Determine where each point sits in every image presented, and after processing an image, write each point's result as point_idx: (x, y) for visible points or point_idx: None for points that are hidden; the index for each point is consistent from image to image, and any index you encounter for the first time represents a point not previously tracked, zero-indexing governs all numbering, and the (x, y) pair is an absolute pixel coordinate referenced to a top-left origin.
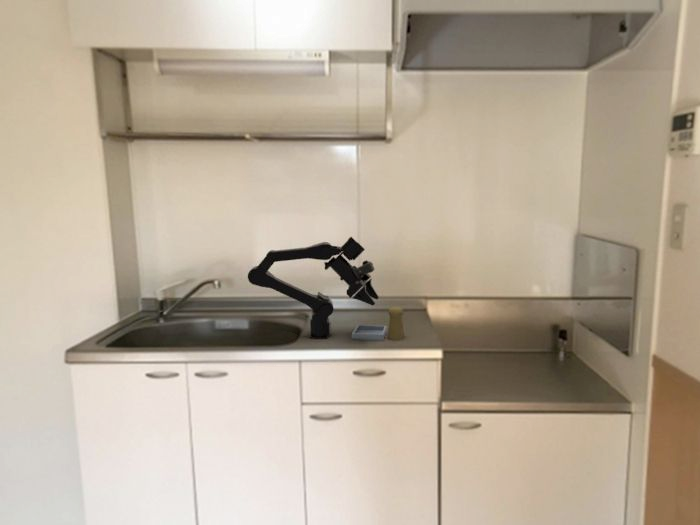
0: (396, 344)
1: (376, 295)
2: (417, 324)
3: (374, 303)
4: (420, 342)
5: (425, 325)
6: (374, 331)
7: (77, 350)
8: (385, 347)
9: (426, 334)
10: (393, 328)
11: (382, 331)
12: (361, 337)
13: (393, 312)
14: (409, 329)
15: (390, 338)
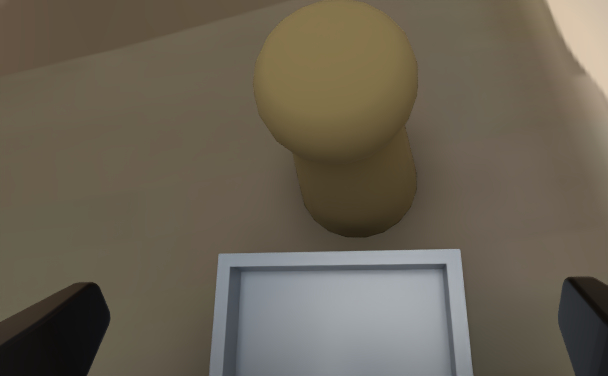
0: (508, 155)
1: (58, 321)
2: (76, 102)
3: (594, 286)
4: (426, 32)
5: (97, 60)
6: (268, 348)
7: None
8: (603, 216)
9: (266, 28)
10: (408, 159)
11: (370, 264)
12: None
13: (417, 84)
14: (174, 129)
15: (407, 207)
